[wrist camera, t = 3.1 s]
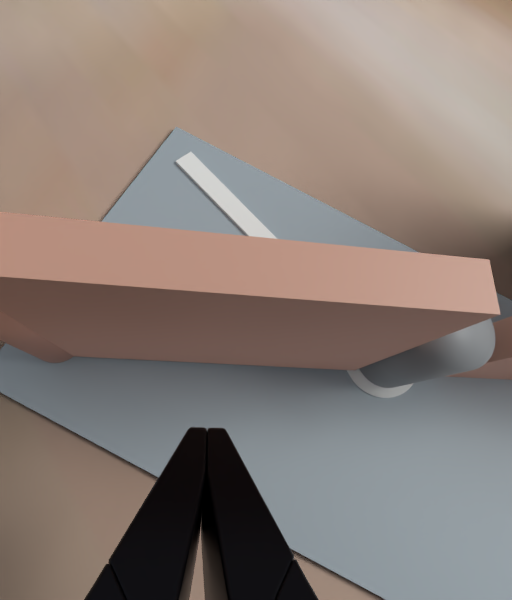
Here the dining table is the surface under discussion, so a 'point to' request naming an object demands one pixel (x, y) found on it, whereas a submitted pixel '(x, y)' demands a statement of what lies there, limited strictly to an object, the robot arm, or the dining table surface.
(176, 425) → the board
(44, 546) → the dining table surface
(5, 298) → the fence panel
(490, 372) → the fixed fence section
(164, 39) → the dining table surface
